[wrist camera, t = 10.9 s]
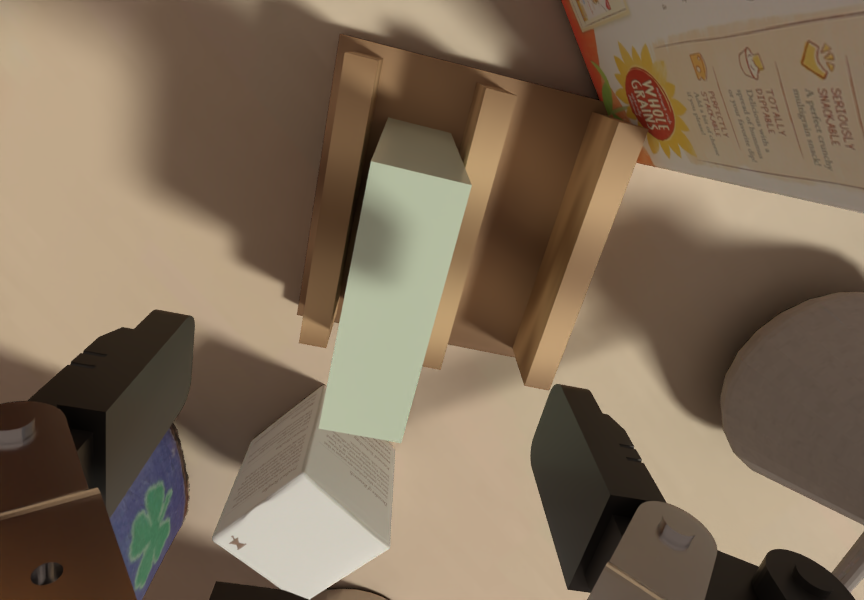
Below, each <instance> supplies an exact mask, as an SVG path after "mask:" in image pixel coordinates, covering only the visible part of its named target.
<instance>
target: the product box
mask: <svg viewBox="0 0 864 600" xmlns="http://www.w3.org/2000/svg"><path fill="white" fill-rule="evenodd" d="M326 388H327V386H326V385H322V386H321V387H320V388H318V389H317V390H316V391H314V392H313V393H312V394H310V395H309V396H308V397H307V398H305V399H304V400H303V401H301V402H300V403H299V404H297V405H296V406H295V407H294V408H292V409H291V410H290V411H288V412H287V413H286V414H285V415H283V416H282V417H281V418H279V419H278V420H277V421H276V422H274V423H273V424H272V425H271V426H269V427H268V428H267V429H266V430H264V431H263V432H262V433H261V434H259V435H258V436H257V437H256V438H254V439H253V440H252V441H251V443H250V445H249V448H248V450H247V453H246V455H245V458H244V460H243V463H242V465H241V467H240V470H239V473H238V475H237V477H236V480H235V482H234V485H233V487H232V489H231V492H230V495H229V497H228V500H227V502H226V504H225V507H224V509H223V512H222V514H221V517H220V519H219V522H218V524H217V527H216V529H215V532H214V534H213V536H212V540H213V542H215V543H216V544H218V545H219V546H221V547H222V548H223V549H225V550H226V551H228V552H229V553H231V554H232V555H233V556H235V557H236V558H238V559H239V560H241V561H242V562H244V563H245V564H246V565H248V566H249V567H251V568H252V569H253V570H255V571H256V572H257V573H259V574H260V575H262V576H263V577H265V578H266V579H267V580H269V581H270V582H272V583H273V584H274V585H276V586H277V587H278V588H280V589H281V590H286V591H288V592H291V593H293V594H296V595H299V596H301V597H304V598H306V599H309V600H310V599H311V598H313V597H314V596H316V595H317V594H319V593H320V592H322V591H324V590H325V589H327V588H328V587H330V586H331V585H333V584H334V583H336V582H338V581H339V580H341V579H342V578H344V577H345V576H347V575H349V574H350V573H352V572H353V571H355V570H356V569H358V568H360V567H361V566H363V565H364V564H366V563H367V562H369V561H371V560H372V559H374V558H375V557H377V556H379V555H380V554H382V553H384V552H385V551H387V550H388V549H389V548H390V534H391V517H392V500H393V482H394V464H395V449H394V448H393V446H392V445H391V444H390V443H389V442H388V441H386V440H380V439H375V438H369V437H363V436H358V435H352V434H347V433H341V432H335V431H330V430H324V429H319V424H320V419H321V414H322V409H323V403H324V398H325V393H326Z"/></svg>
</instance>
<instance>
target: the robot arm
mask: <svg viewBox="0 0 864 600" xmlns="http://www.w3.org/2000/svg"><path fill="white" fill-rule="evenodd" d="M194 330H195V322H194V318H193V317H192V316H189V315H183V314H178V313H173V312H167V311H162V310H153V311H152V312H151V313H150V314H149V315H148V316H147V317H146V318H145V319H144V320H143V321H142V322H141V323H140V324H139V325H138V326H137V327H136V328H135V329H130V328H124V327H122V328H120V329H117V330H115V331H112V332H110V333H107V334H105V335H103V336H100V337H98V338H97V339H96V340H95V341H94V342H93V343H92V344H91V345H89V346H88V347H87V348H86V349H85V350H84V352H83V354H82V353H80V354H79V355H78V356H77V357H76V358H75V359H74V360H73V361H71V364H70V365H67V366H66V367H65V368H64V369H62V370H61V371H60V372H59V373H58V374H57V375H56V376H55V377H53V378H52V379H51V380H50V381H49V382H48V383H47V384H46V385H44V386H43V387H42V388H41V389H40V390H39V391H38V392H37V393H35V394H34V395H33V396H32V397H31V398H30V399H29V400H28V401H16V402H8V403H2V404H0V600H137V598H136V595H135V592H134V589H133V586H132V583H131V580H130V577H129V575H128V572H127V569H126V566H125V563H124V560H123V557H122V554H121V551H120V548H119V545H118V542H117V539H116V536H115V533H114V530H113V527H112V525H111V522H110V517H111V516H112V514H113V513H114V511H115V510H116V508H117V507H118V505H119V504H120V502H121V501H122V499H123V498H124V496H125V495H126V493H127V492H128V490H129V488H130V487H131V485H132V484H133V482H134V481H135V479H136V478H137V476H138V475H139V473H140V472H141V470H142V469H143V467H144V466H145V464H146V463H147V461H148V460H149V458H150V457H151V455H152V453H153V452H154V450H155V449H156V447H157V446H158V444H159V443H160V441H161V440H162V438H163V437H164V435H165V434H166V432H167V431H168V429H169V428H170V426H171V425H172V423H173V421H174V420H175V418H176V417H177V415H178V414H179V412H180V411H181V409H182V408H183V406H184V404H185V401H186V399H187V396H188V393H189V389H190V384H191V374H192V360H193V345H194ZM641 460H642V459H641V458H640V456H639V454H638V452H637V451H636V450H635V449H634V445H633V444H632V442H631V440H630V438H629V437H628V435H627V433H626V431H625V430H624V429H623V428H622V427H621V426H620V425H619V424H618V423H617V422H615V421H614V420H613V419H612V418H611V417H610V416H609V415H607V414H602V412H601V410H600V408H599V406H598V404H597V402H596V401H595V399H594V397H593V395H592V393H591V392H590V391H589V390H588V389H583V388H577V387H572V386H566V385H561V384H556V385H554V386H553V388H552V389H551V391H550V394H549V396H548V399H547V402H546V405H545V407H544V410H543V413H542V416H541V418H540V421H539V424H538V427H537V429H536V432H535V435H534V438H533V441H532V446H531V466H532V470H533V473H534V477H535V480H536V484H537V487H538V490H539V494H540V497H541V501H542V504H543V507H544V511H545V514H546V518H547V521H548V524H549V528H550V531H551V535H552V538H553V541H554V545H555V548H556V552H557V555H558V558H559V562H560V565H561V569H562V572H563V575H564V579H565V582H566V586H567V589H568V590H575V591H582V592H589V593H591V594H590V595H589V597H588V599H587V600H855V599H854V597H853V596H852V595H851V593H850V592H849V591H848V590H847V588H846V587H845V586H844V585H843V584H842V583H841V582H840V581H839V580H838V579H837V578H836V577H835V576H834V575H833V574H832V573H830V572H829V571H828V570H826V569H825V568H824V567H822V566H821V565H819V564H818V563H816V562H815V561H813V560H811V559H809V558H807V557H805V556H803V555H801V554H798V553H796V552H793V551H789V550H784V549H775V550H771V551H770V552H768V553H767V555H766V556H765V558H764V560H763V561H762V563H761V564H760V566H759V567H758V566H756V565H753V564H751V563H748V562H746V561H743V560H741V559H738V558H735V557H733V556H730V555H728V554H725V553H723V552H720V551H718V550H717V545H716V542H715V540H714V538H713V536H712V535H711V533H710V532H709V531H708V530H707V528H706V527H705V526H704V525H703V524H702V523H701V522H699V521H698V520H697V519H696V518H695V517H693V516H692V515H691V514H689V513H687V512H686V511H684V510H682V509H680V508H678V507H676V506H674V505H671V504H668V503H666V501H665V499H664V498H663V496H662V494H661V492H660V491H659V489H658V487H657V485H656V484H655V482H654V480H653V478H652V477H651V475H650V473H649V471H648V470H647V468H646V466H645V465H644V463H641ZM209 600H309V599H306V598H304V597H301V596H299V595H296V594H293V593H291V592H288V591H286V590H279V589H271V588H264V587H256V586H248V585H240V584H233V583H225V582H217V581H216V583H215V586H214V589H213V591H212V594H211V597H210V599H209ZM310 600H387V599H385V598H383V597H381V596H378V595H376V594H373V593H370V592H366V591H361V590H354V589H333V590H326V591H322V592H320V593H319V594H317V595H316V596H314V597H313V598H311V599H310Z"/></svg>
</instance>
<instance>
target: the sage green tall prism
mask: <svg viewBox="0 0 864 600" xmlns="http://www.w3.org/2000/svg"><path fill="white" fill-rule="evenodd" d="M471 187H472V184H471V182H470V179H469V177H468V174H467V172H466V169H465V167H464V164H463V162H462V159H461V157H460V154H459V152H458V149H457V147H456V144H455V142H454V139H453V137H452V134H451V133H449V132H445V131H441V130H437V129H433V128H429V127H425V126H421V125H417V124H413V123H409V122H405V121H401V120H397V119H393V118H389V117H388V119H387V122H386V124H385V127H384V129H383V132H382V134H381V137H380V140H379V142H378V145H377V147H376V150H375V152H374V155H373V157H372V160H371V164H370V169H369V174H368V179H367V184H366V189H365V195H364V200H363V205H362V210H361V215H360V220H359V225H358V230H357V235H356V240H355V245H354V251H353V256H352V261H351V266H350V271H349V276H348V281H347V286H346V291H345V296H344V302H343V307H342V312H341V317H340V322H339V327H338V332H337V337H336V342H335V347H334V352H333V358H332V363H331V368H330V373H329V378H328V383H327V388H326V393H325V398H324V403H323V409H322V414H321V419H320V424H319V429H324V430H330V431H335V432H341V433H347V434H352V435H358V436H363V437H369V438H375V439H380V440H386V441H392V442H397V443H401V442H402V438H403V435H404V431H405V427H406V424H407V420H408V416H409V413H410V409H411V405H412V402H413V398H414V394H415V391H416V387H417V383H418V380H419V376H420V373H421V369H422V365H423V362H424V358H425V354H426V351H427V347H428V343H429V340H430V336H431V332H432V329H433V325H434V321H435V318H436V314H437V311H438V307H439V303H440V300H441V296H442V292H443V289H444V285H445V281H446V278H447V274H448V270H449V267H450V263H451V260H452V256H453V252H454V249H455V245H456V241H457V238H458V234H459V230H460V227H461V223H462V219H463V216H464V212H465V208H466V205H467V201H468V198H469V194H470V190H471Z"/></svg>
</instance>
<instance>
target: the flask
mask: <svg viewBox="0 0 864 600" xmlns="http://www.w3.org/2000/svg"><path fill="white" fill-rule="evenodd" d="M178 436H179V435H178V431H177V429H176V427H175V426H174V424H173V423H172V425H171V426H170V428H169V429H168V431H167V432H166V434H165V435H164V437H163V438H162V440H161V441H160V443H159V444H158V446H157V447H156V449H155V450H154V452H153V453H152V455H151V457H150V458H149V460H148V461H147V463H146V464H145V466H144V467H143V469H142V470H141V472H140V473H139V475H138V476H137V478H136V479H135V481H134V482H133V484H132V485H131V487H130V488H129V490H128V492H127V493H126V495H125V496H124V498H123V499H122V501H121V502H120V504H119V505H118V507H117V508H116V510H115V511H114V513H113V514H112V516H111V517H110V522H111V525H112V527H113V530H114V533H115V536H116V539H117V542H118V545H119V548H120V551H121V554H122V557H123V560H124V563H125V566H126V569H127V572H128V575H129V577H130V580H131V583H132V586H133V589H134V592H135V595H136V598H137V600H142V599H143V597H144V595H145V593H146V591H147V589H148V587H149V585H150V583H151V581H152V579H153V577H154V575H155V573H156V571H157V570H158V568H159V566H160V564H161V562H162V560H163V558H164V556H165V554H166V552H167V551H168V549H169V547H170V545H171V543H172V541H173V539H174V537H175V536H176V534H177V532H178V531H179V529H180V528H181V526H182V524H183V522H184V520H185V516H186V515H187V512H188V501H189V496H188V494H189V491H190V489H189V485H190V484H189V482H188V478H189V477H188V474H187V472H186V468H185V467H186V466H185V465H186V464H185V460H184V455H183V451H182V449H181V443H180V442H181V441H180V440H179V437H178Z"/></svg>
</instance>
